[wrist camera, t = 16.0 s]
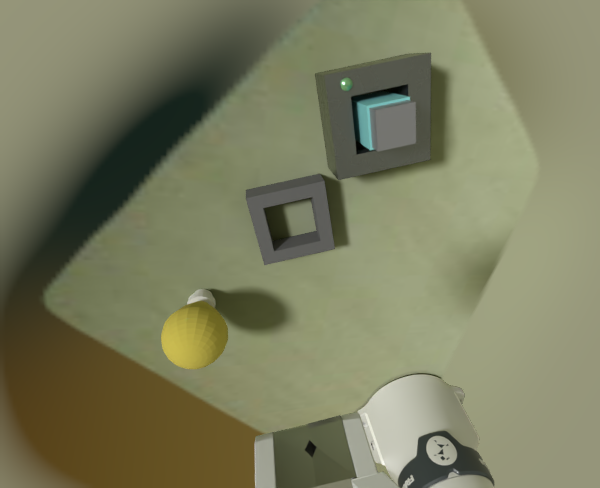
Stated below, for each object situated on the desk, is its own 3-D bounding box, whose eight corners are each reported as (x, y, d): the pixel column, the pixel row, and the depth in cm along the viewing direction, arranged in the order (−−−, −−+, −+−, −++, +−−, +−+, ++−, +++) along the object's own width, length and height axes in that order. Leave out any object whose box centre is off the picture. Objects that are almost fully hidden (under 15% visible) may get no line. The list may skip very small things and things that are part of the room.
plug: (384, 128, 35) (418, 145, 28) (350, 135, 35) (375, 154, 28) (382, 90, 33) (418, 98, 26) (346, 98, 33) (372, 108, 26)
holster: (330, 238, 40) (334, 249, 38) (263, 253, 40) (264, 264, 38) (319, 173, 36) (324, 180, 34) (246, 190, 36) (246, 198, 34)
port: (410, 149, 36) (431, 160, 32) (328, 167, 36) (338, 180, 32) (408, 53, 32) (432, 52, 28) (314, 73, 32) (324, 75, 27)
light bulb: (172, 315, 42) (152, 382, 33) (176, 270, 39) (155, 330, 31) (227, 320, 44) (221, 385, 35) (234, 277, 41) (230, 336, 32)
